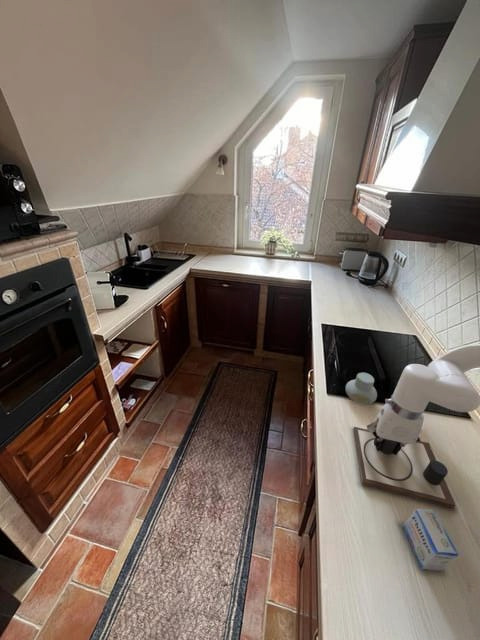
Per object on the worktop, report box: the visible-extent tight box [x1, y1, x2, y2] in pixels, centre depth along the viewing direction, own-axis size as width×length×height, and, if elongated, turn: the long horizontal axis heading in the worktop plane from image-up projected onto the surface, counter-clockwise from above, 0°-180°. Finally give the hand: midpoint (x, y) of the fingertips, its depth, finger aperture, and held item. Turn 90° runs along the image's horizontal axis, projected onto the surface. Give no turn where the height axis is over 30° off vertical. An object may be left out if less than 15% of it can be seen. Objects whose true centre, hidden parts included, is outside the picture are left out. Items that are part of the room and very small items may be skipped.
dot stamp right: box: [423, 459, 449, 485], centre depth 68 cm, size 4×4×5 cm
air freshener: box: [345, 372, 378, 405], centre depth 95 cm, size 11×8×10 cm
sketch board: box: [352, 426, 457, 509], centre depth 74 cm, size 22×18×2 cm
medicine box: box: [402, 508, 460, 571], centre depth 55 cm, size 8×4×9 cm, turn 178°
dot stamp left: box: [380, 439, 398, 455], centre depth 76 cm, size 4×4×5 cm
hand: (385, 448), depth 77 cm, fingers closed on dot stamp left, 4 cm apart
